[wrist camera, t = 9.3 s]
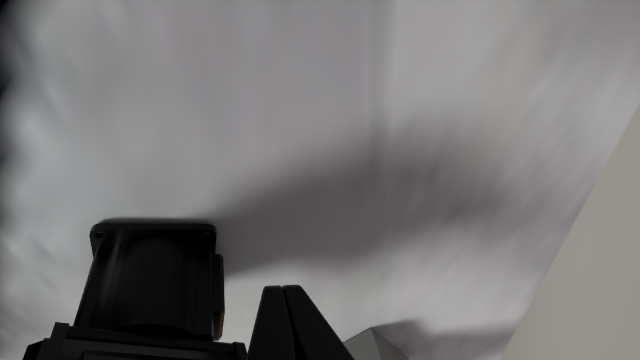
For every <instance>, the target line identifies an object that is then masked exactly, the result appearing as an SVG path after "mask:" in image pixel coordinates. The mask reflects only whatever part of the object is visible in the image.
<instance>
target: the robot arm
mask: <svg viewBox="0 0 640 360" xmlns="http://www.w3.org/2000/svg"><path fill="white" fill-rule="evenodd" d="M98 232H102V233H104V234H100V233H98ZM205 232H210V233H208V234H206V233H205ZM90 241H91V247H92V252H93V258H94V259H93V262H92V265H91V269H90V272H89V275H88V279H87V282H86V285H85V288H84V292H83V295H82V298H81V302H80V305H79V308H78V311H77V315H76V318H75V321H74V325H73V326H69V323H60V322H55V325H54V328H53V331H52V334H51V337H50V338H44V340H43V341H40V342H37V343H34V344H31V345H28V347H27V349H26V352H25V355H24V357H23V360H355V359H354V358H353V356H352V355H351V354H350V352H349V351H348V350H347V348H346V347H345V345H344V344H343V343H342V341H341V340H340V339H339V337H338V336H337V335H336V333H335V332H334V330H333V329H332V328H331V326H330V325H329V324H328V322H327V321H326V319H325V318H324V317H323V315H322V314H321V313H320V311H319V310H318V309H317V307H316V306H315V304H314V303H313V302H312V300H311V299H310V298H309V296H308V295H307V293H306V292H305V291H304V289H303V288H302V287H301V286H300V285H284V286H283V287H281V286H279V285H277V286H265V287H264V289H263V292H262V297H261V301H260V305H259V309H258V313H257V317H256V321H255V325H254V329H253V333H252V337H251V341H250V346H249V350H248V354H247V351H246V347H245V344H244V343H240V342H233V343H224V342H214V341H218V340H219V339H220V338H221V337H222V331H223V322H224V313H225V302H224V269H223V257H222V256H221V255H220V254H215V247H216V228H215V227H214V226H213V225H210V224H96V225H94V226H93V227H92V228H91V231H90Z"/></svg>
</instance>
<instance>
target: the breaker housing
mask: <svg viewBox="0 0 640 360" xmlns="http://www.w3.org/2000/svg"><path fill="white" fill-rule="evenodd" d="M343 344H344V345H345V347H346V348H347V350H348V351H349V352H350V354H351V355H352V356H353V358H354V359H355V360H409V359H408V358H407V357H406V356H405V355H404V354H402V353H401V352H400V351H399V350H397V349H396V348H395V347H394V346H393V345H391V344H390V343H389V342H388V341H386V340H385V339H384V338H383V337H381V336H380V335H379V334H378V333H376V332H375V331H374V330H373V329H371V328H369V329H367V330H365V331H363V332H362V333H360V334H358V335H356V336H354V337H353V338H351V339H349V340H347V341H345V342H344V343H343Z"/></svg>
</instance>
